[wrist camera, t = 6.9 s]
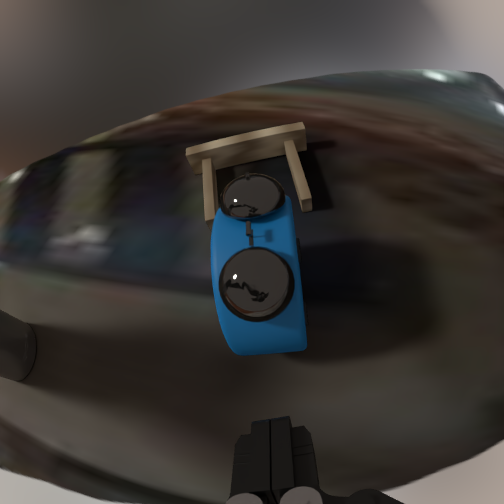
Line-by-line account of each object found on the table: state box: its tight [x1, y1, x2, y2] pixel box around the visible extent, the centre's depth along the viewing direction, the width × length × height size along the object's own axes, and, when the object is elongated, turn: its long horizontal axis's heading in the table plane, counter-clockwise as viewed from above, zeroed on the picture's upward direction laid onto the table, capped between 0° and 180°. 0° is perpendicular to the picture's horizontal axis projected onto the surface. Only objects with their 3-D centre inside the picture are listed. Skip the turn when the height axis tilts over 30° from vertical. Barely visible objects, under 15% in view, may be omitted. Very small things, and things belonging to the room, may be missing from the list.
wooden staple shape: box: [186, 122, 312, 232], centre depth 40 cm, size 16×12×4 cm
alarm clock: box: [211, 173, 308, 356], centre depth 27 cm, size 13×6×15 cm, turn 2°
